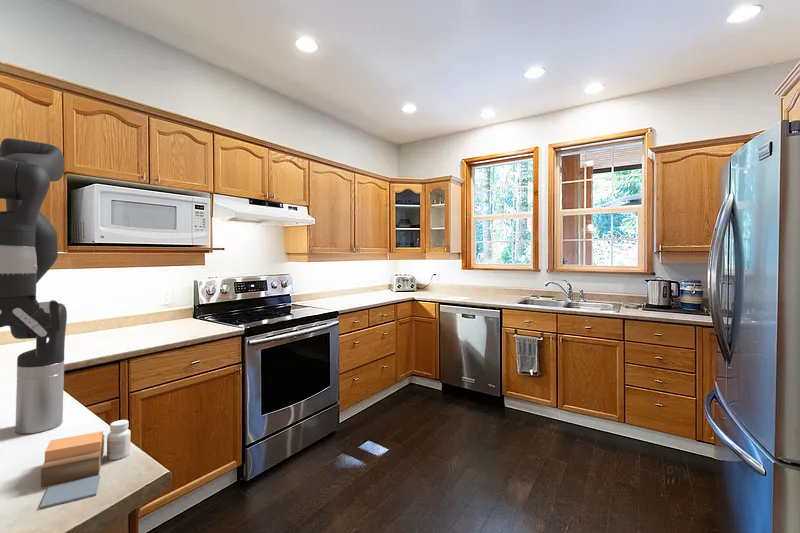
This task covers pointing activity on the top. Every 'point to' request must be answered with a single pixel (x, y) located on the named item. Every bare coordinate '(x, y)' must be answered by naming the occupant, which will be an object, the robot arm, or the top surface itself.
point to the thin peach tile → (74, 446)
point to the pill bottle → (118, 440)
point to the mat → (70, 491)
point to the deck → (71, 468)
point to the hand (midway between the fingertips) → (6, 359)
